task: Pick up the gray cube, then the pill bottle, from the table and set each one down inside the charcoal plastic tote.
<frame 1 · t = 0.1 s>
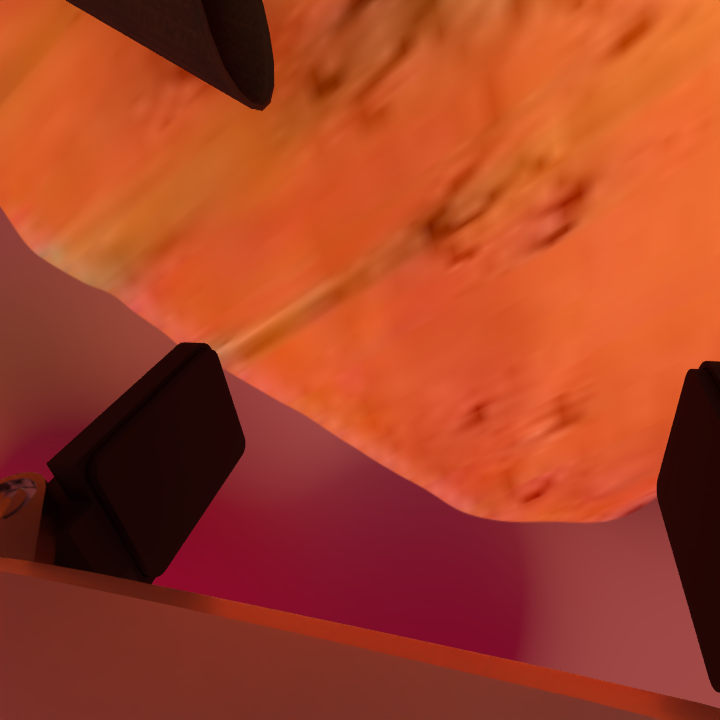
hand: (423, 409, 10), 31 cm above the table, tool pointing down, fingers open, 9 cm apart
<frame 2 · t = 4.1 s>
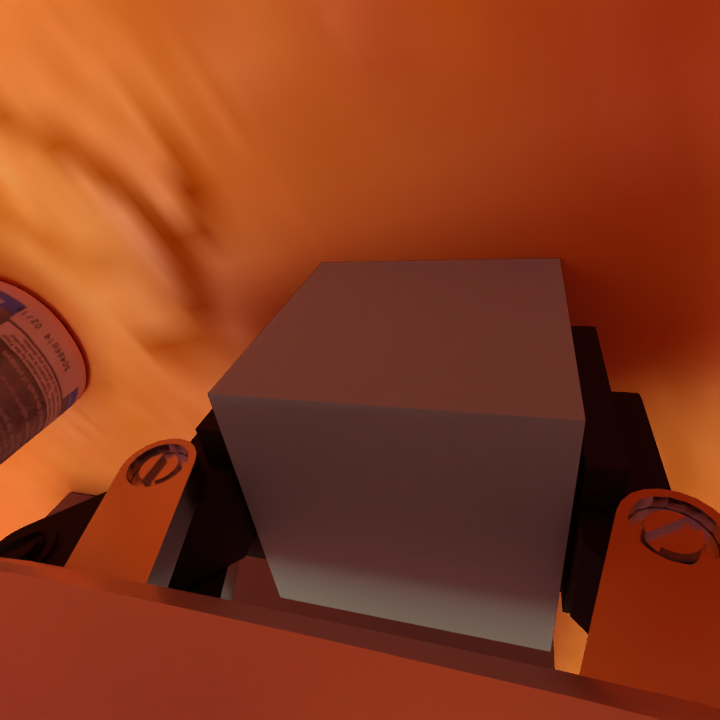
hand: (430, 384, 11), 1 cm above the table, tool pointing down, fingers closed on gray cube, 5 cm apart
gray cube: (437, 360, 12), on the table, touching gripper
tote: (308, 634, 21), on the table
pill bottle: (29, 340, 16), on the table
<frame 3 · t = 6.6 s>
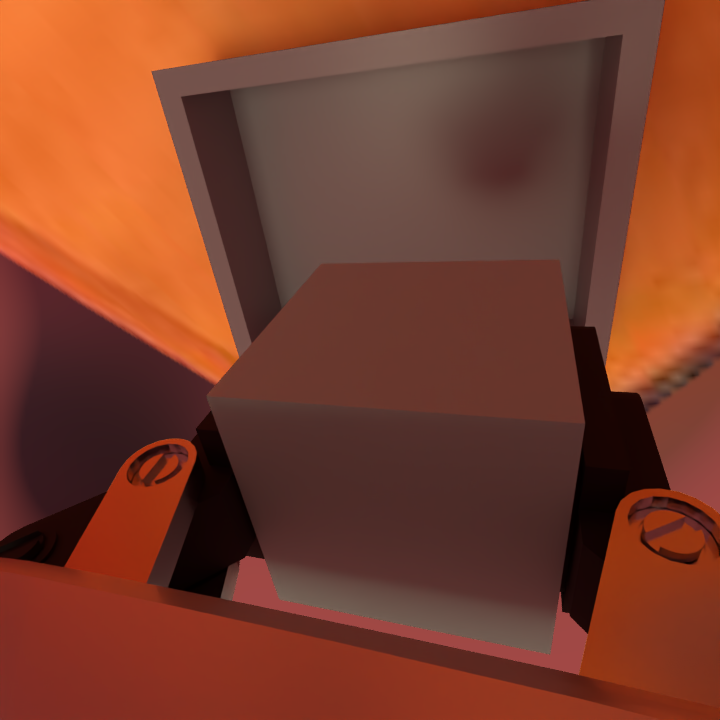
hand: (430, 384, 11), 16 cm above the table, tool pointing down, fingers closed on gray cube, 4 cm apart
gray cube: (436, 361, 12), point 15 cm above the table, touching gripper
tote: (410, 200, 24), on the table
when the fingers open (5 cm above the table, at t = 8.9 s): gray cube drops 3 cm, resting on tote.
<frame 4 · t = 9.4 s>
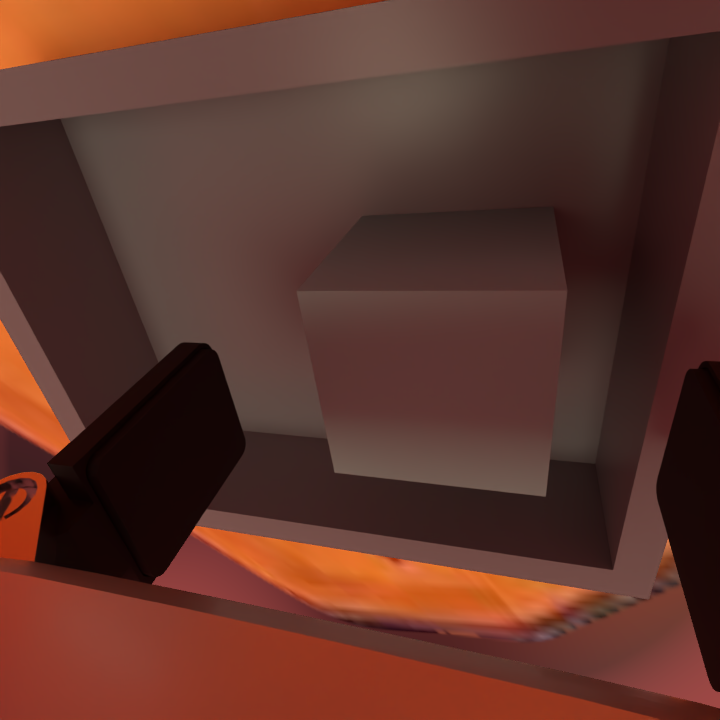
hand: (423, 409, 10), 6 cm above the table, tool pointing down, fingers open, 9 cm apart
gray cube: (454, 296, 14), point 1 cm above the table, touching tote
tote: (349, 284, 16), on the table
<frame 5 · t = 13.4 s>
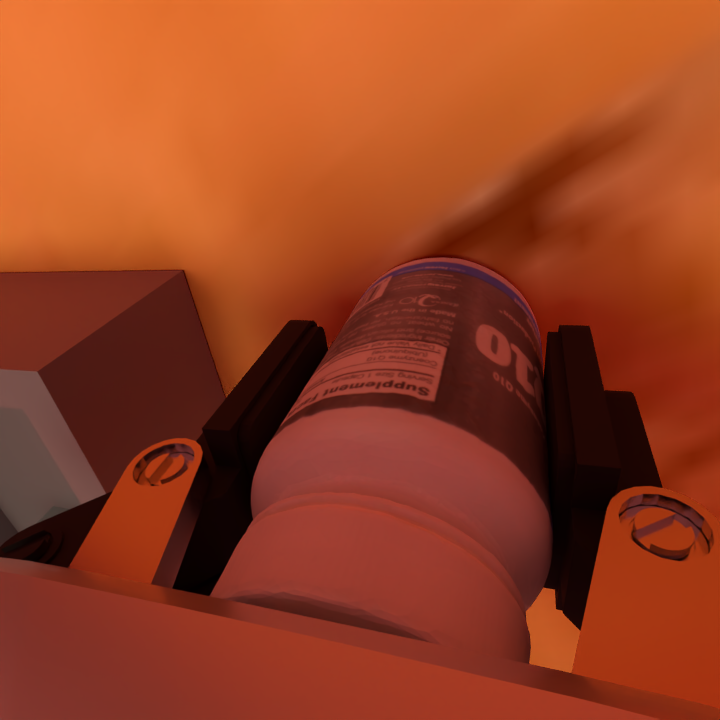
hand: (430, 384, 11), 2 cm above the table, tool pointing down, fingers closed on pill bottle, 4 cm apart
tote: (106, 477, 20), on the table
pill bottle: (443, 336, 13), on the table, touching gripper
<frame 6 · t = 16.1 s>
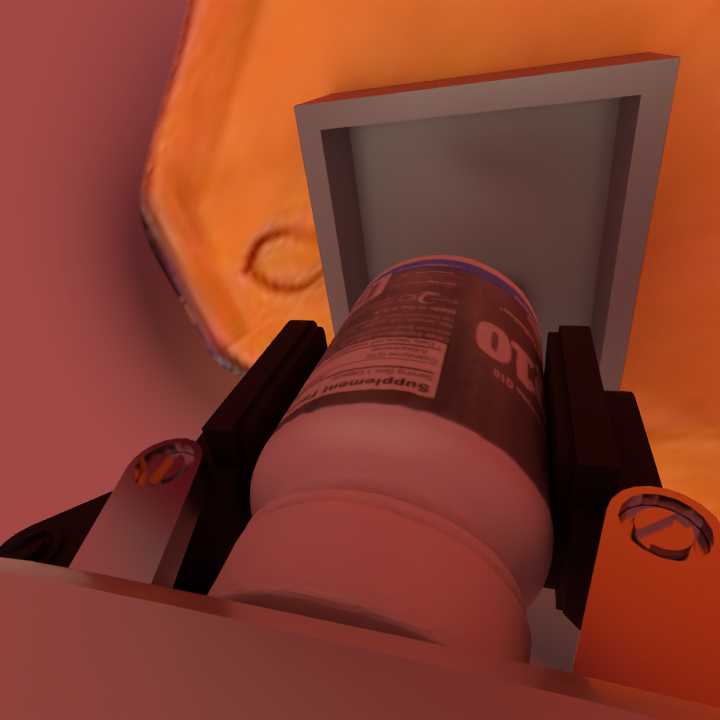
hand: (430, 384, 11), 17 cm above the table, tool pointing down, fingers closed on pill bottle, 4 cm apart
tote: (476, 262, 27), on the table
pill bottle: (443, 334, 13), point 15 cm above the table, touching gripper
when the fingers open (5 cm above the table, at t = 18.7 s): pill bottle drops 2 cm, resting on tote.
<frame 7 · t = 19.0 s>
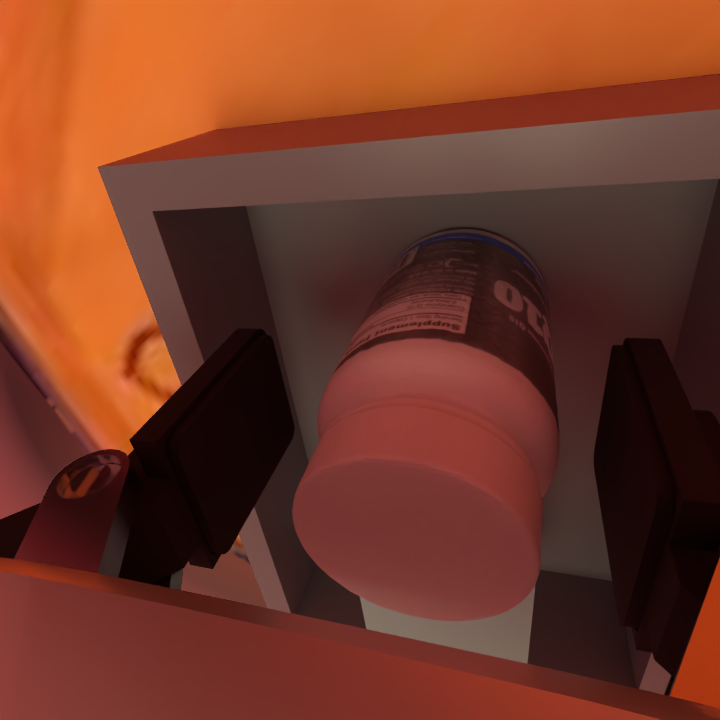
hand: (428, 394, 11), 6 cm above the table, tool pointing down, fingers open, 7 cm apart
gray cube: (458, 481, 18), point 1 cm above the table, touching tote
tote: (458, 389, 17), on the table
pill bottle: (462, 299, 14), point 1 cm above the table, touching tote
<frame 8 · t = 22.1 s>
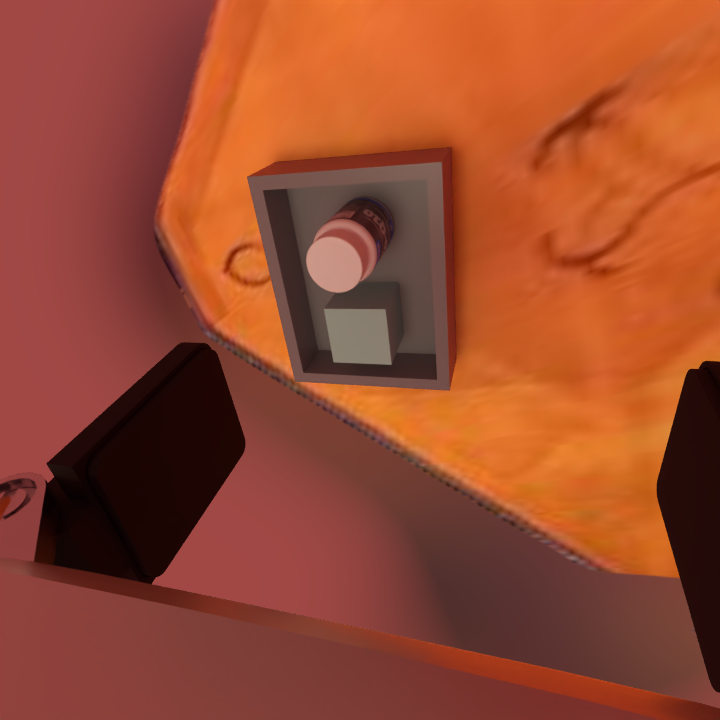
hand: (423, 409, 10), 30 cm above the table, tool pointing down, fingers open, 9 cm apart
gray cube: (373, 308, 43), point 1 cm above the table, touching tote
tote: (371, 266, 42), on the table
pill bottle: (366, 224, 39), point 1 cm above the table, touching tote
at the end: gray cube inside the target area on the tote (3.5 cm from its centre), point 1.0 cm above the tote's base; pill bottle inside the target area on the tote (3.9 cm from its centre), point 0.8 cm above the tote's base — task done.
